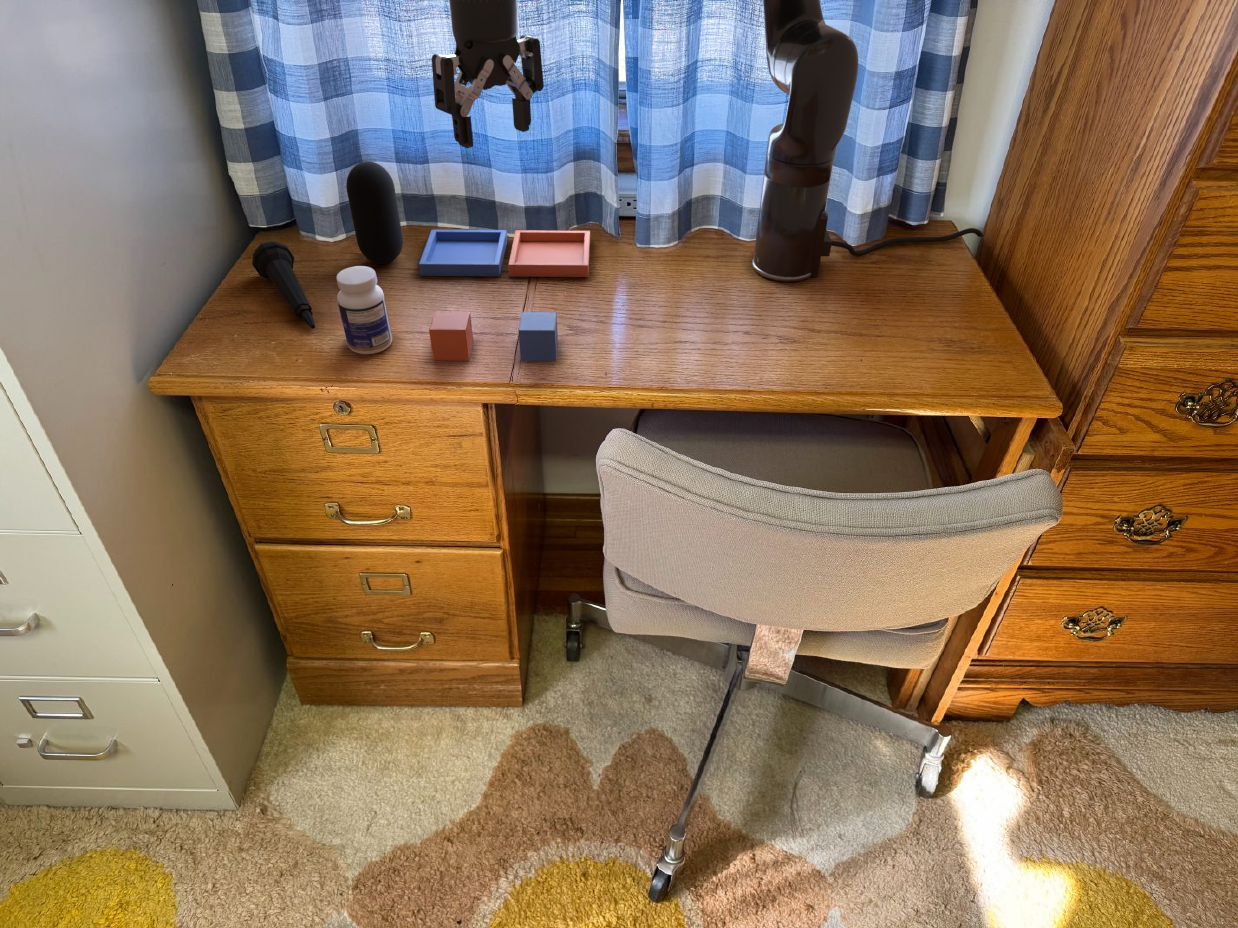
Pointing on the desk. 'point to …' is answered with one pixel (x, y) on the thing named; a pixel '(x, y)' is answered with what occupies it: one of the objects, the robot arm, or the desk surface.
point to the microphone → (283, 277)
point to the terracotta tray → (550, 253)
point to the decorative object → (374, 212)
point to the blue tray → (464, 253)
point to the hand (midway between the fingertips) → (494, 138)
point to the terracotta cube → (451, 335)
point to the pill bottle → (363, 310)
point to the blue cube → (538, 336)
